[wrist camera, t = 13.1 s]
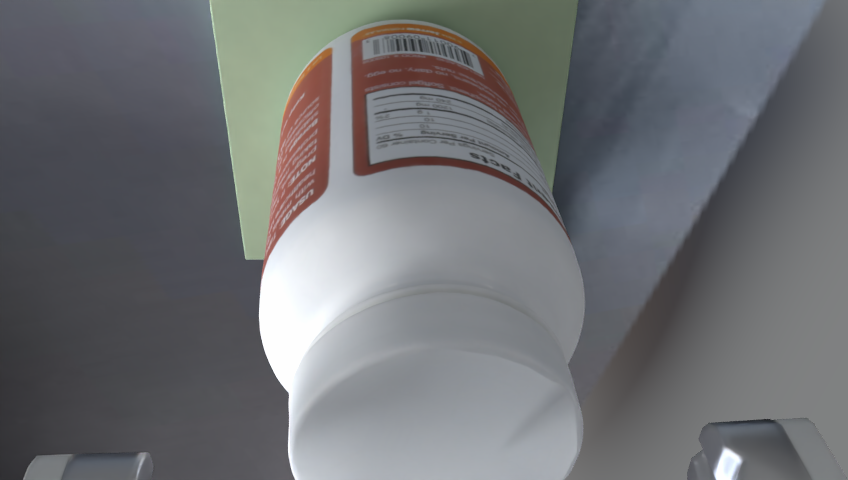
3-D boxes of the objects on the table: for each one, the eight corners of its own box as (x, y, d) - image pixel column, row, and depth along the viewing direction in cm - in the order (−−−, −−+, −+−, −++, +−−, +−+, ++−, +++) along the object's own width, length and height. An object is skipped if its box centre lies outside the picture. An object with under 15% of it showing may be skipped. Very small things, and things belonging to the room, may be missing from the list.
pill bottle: (361, 250, 24) (367, 608, 15) (235, 87, 20) (146, 421, 12) (551, 157, 22) (684, 489, 13) (450, -36, 19) (538, 236, 10)
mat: (204, -56, 19) (202, -51, 18) (581, -56, 19) (585, -51, 19) (246, 252, 24) (245, 260, 24) (541, 243, 25) (544, 251, 24)
